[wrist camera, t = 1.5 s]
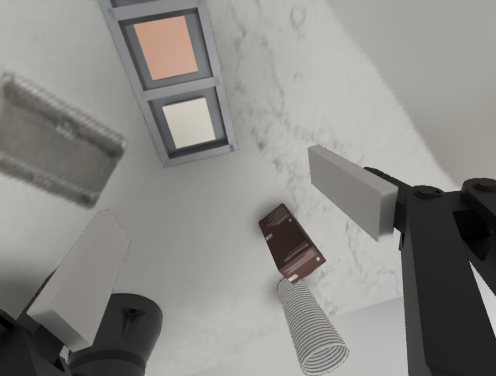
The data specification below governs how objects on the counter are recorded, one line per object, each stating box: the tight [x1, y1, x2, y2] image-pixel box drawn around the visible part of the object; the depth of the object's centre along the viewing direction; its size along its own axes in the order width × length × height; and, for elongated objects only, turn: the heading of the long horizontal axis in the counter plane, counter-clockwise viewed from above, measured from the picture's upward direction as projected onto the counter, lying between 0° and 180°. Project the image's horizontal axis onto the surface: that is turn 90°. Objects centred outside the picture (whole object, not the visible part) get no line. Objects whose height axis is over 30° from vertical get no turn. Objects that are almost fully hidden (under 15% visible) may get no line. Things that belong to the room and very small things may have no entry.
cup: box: [278, 278, 349, 376], centre depth 44 cm, size 8×8×16 cm
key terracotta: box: [134, 16, 198, 80], centre depth 24 cm, size 5×5×2 cm
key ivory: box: [162, 96, 216, 149], centre depth 27 cm, size 5×5×2 cm
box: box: [259, 204, 326, 285], centre depth 36 cm, size 6×4×12 cm
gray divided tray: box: [98, 0, 238, 168], centre depth 26 cm, size 10×25×4 cm, turn 11°
